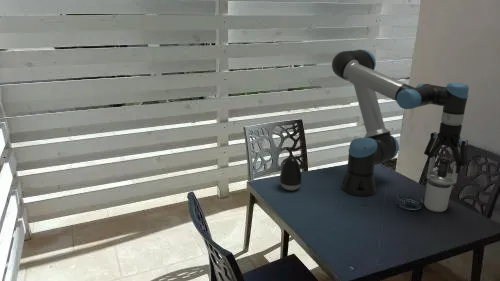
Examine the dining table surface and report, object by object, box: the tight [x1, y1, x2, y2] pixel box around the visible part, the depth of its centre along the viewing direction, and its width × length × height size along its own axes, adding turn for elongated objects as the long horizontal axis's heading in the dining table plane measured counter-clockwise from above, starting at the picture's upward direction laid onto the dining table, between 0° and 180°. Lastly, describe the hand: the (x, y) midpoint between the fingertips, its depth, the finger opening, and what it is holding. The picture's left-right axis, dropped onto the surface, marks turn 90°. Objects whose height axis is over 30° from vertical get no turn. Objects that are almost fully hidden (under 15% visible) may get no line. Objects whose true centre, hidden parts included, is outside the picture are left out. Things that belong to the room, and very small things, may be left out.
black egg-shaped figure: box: [279, 155, 303, 191], centre depth 173 cm, size 10×10×15 cm
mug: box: [423, 179, 453, 213], centre depth 158 cm, size 12×9×11 cm
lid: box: [426, 156, 458, 186], centre depth 154 cm, size 11×11×9 cm
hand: (441, 175), depth 155 cm, fingers closed on lid, 9 cm apart
